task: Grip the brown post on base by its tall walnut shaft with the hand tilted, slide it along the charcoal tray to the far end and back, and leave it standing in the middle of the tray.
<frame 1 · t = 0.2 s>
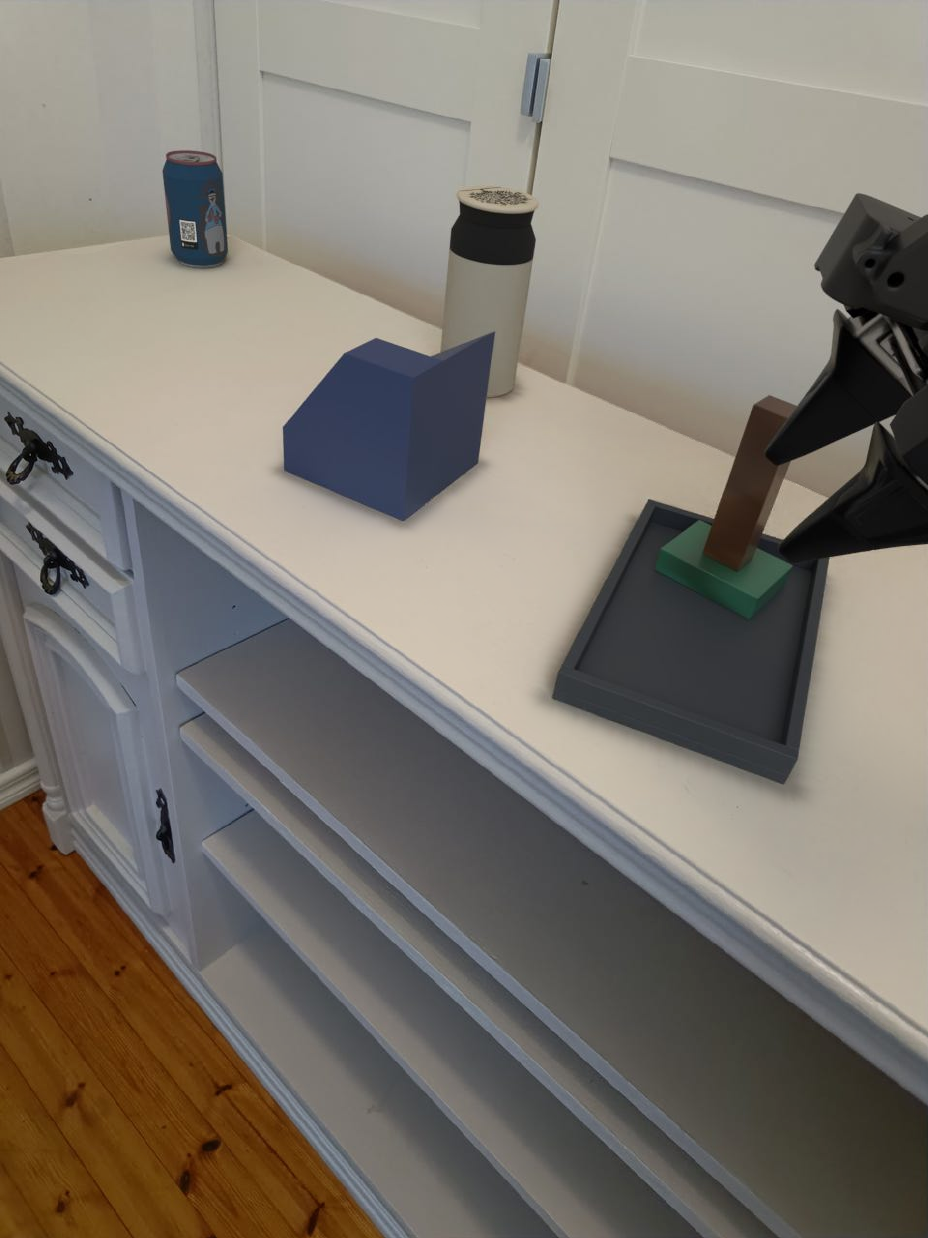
hand: (776, 503, 43), 16 cm above the sideboard, tool tilted 30°, fingers open, 9 cm apart
phone stand: (383, 468, 74), on the sideboard
tray: (700, 630, 60), on the sideboard
brown post on base: (719, 578, 64), point 1 cm above the sideboard, touching tray
travel mug: (475, 384, 89), on the sideboard
soda can: (200, 261, 108), on the sideboard
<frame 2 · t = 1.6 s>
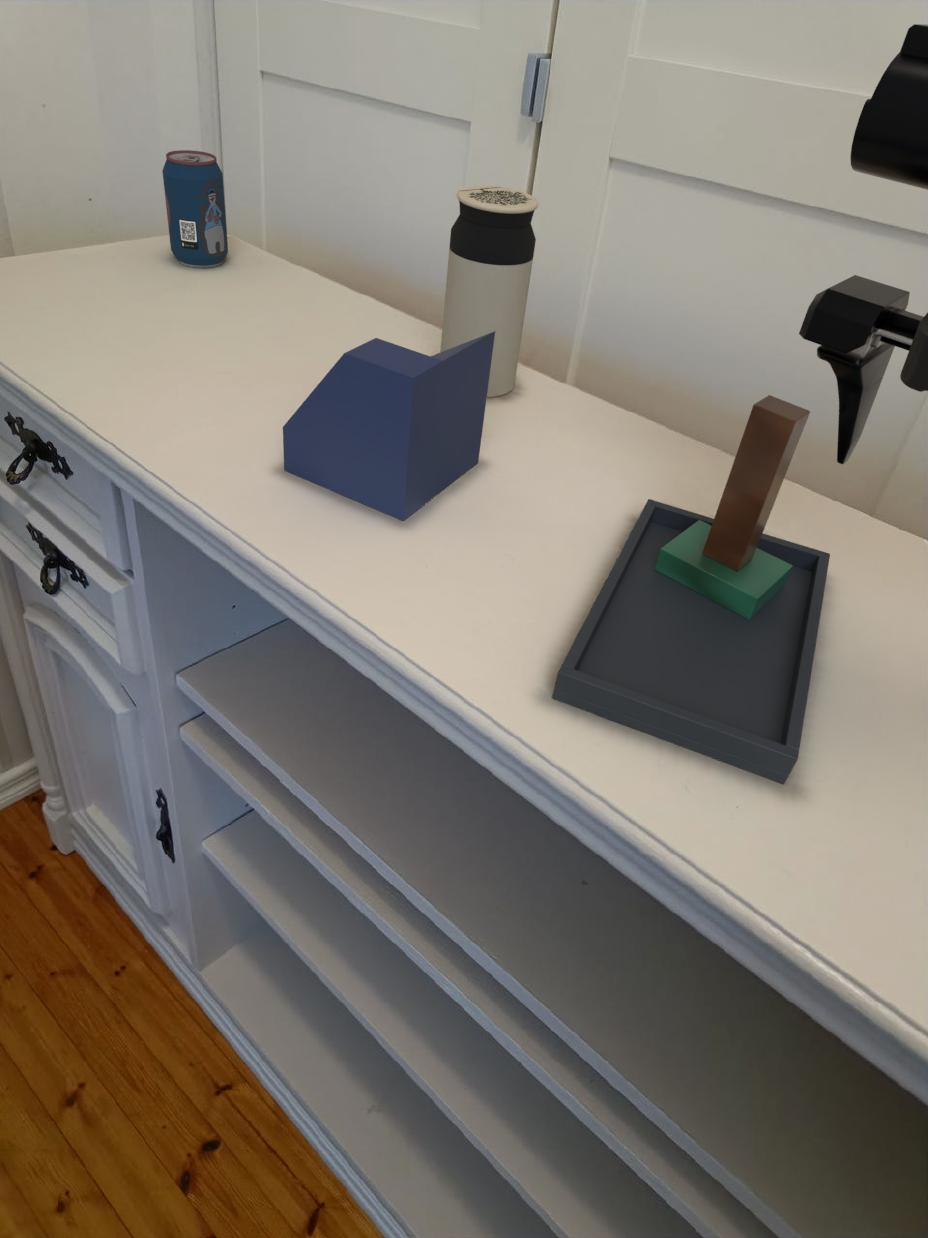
hand: (913, 491, 52), 13 cm above the sideboard, tool pointing down, fingers open, 9 cm apart
nothing on the sideboard moved.
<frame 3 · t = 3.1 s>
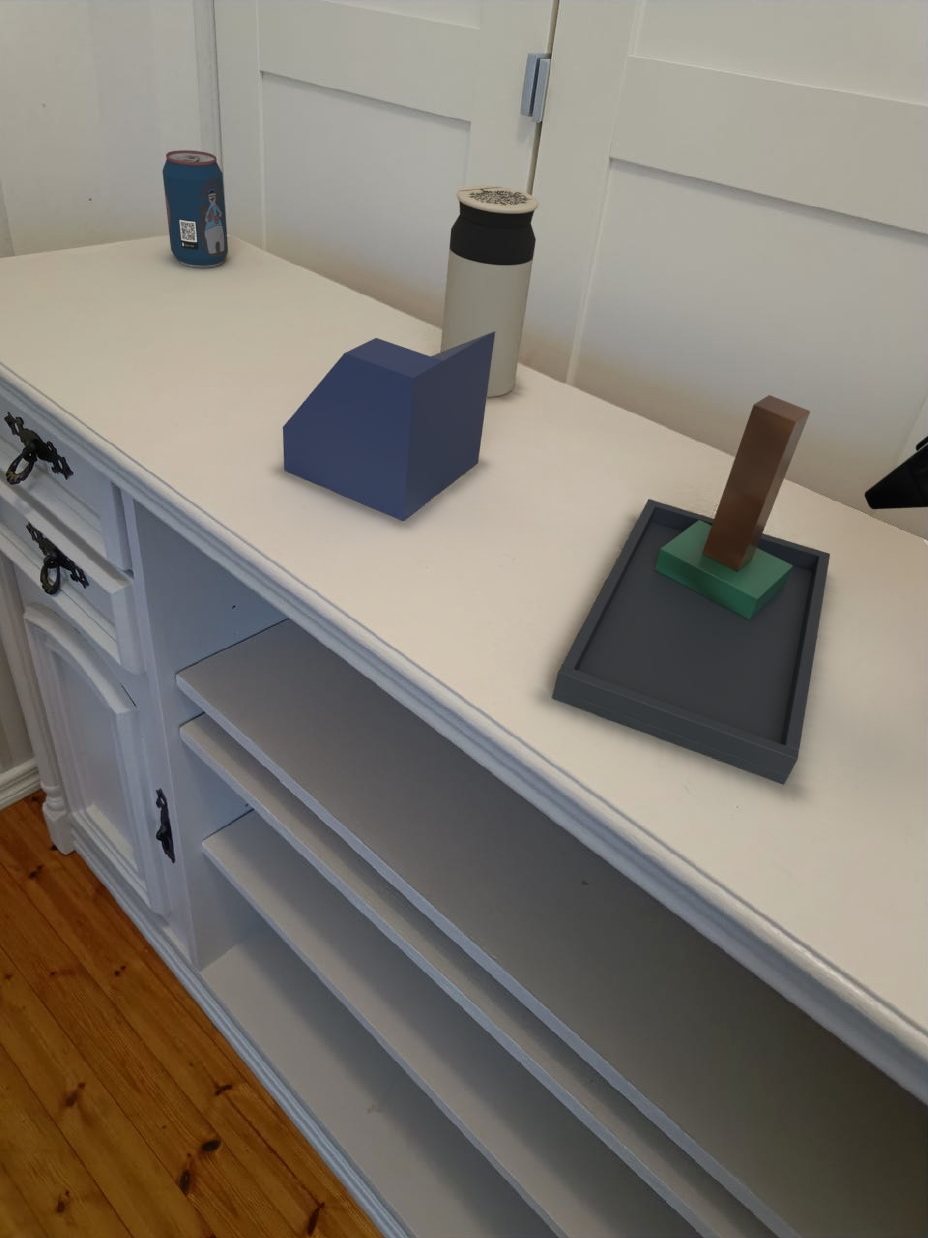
hand: (894, 475, 53), 13 cm above the sideboard, tool tilted 45°, fingers open, 9 cm apart
nothing on the sideboard moved.
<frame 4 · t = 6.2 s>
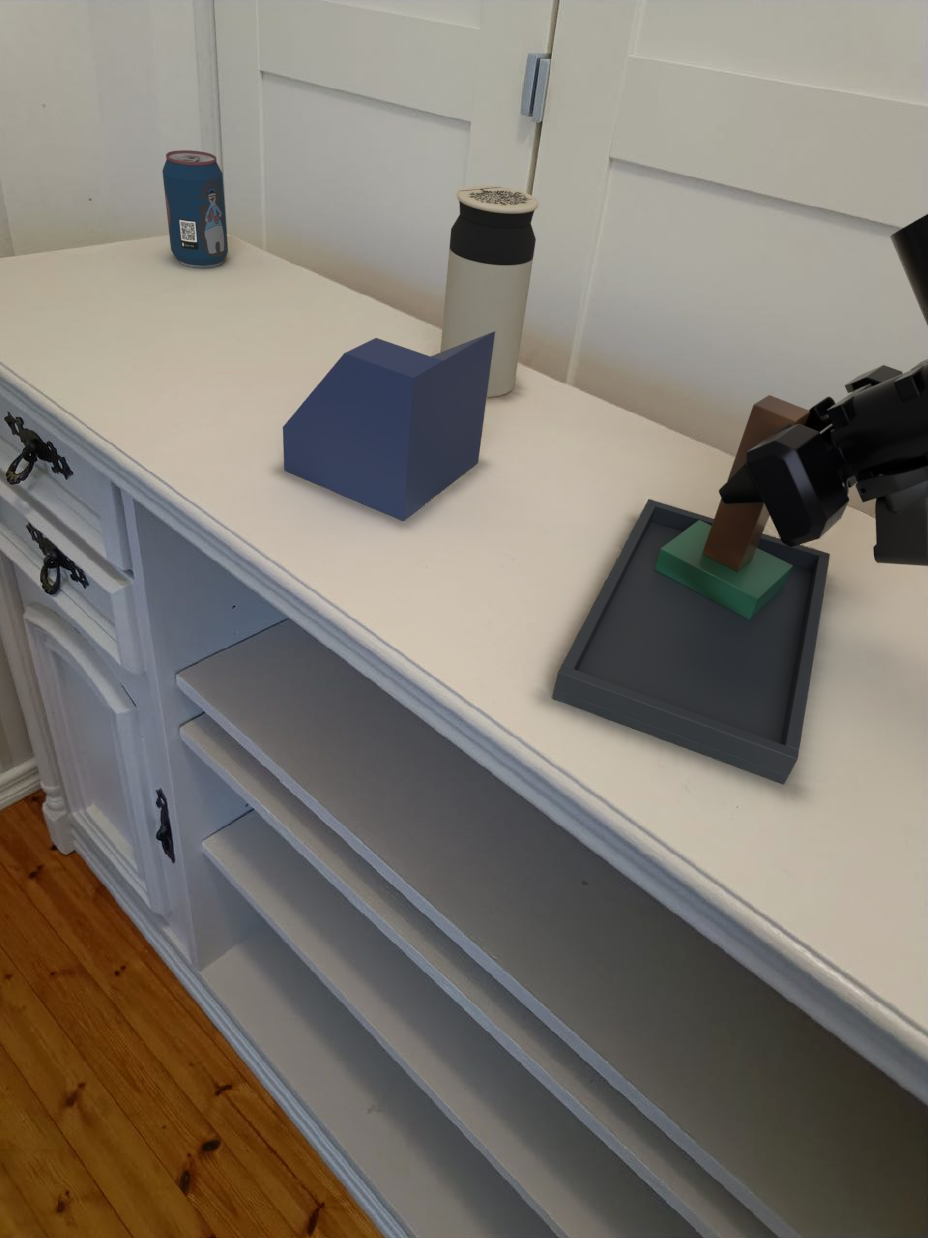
hand: (730, 490, 60), 8 cm above the sideboard, tool tilted 45°, fingers closed on brown post on base, 2 cm apart
brown post on base: (719, 578, 64), point 1 cm above the sideboard, touching gripper, tray
everything else where it was.
when the fingers open (8 cm above the sideboard, at t = 12.7 s): brown post on base stays where it is, resting on tray.
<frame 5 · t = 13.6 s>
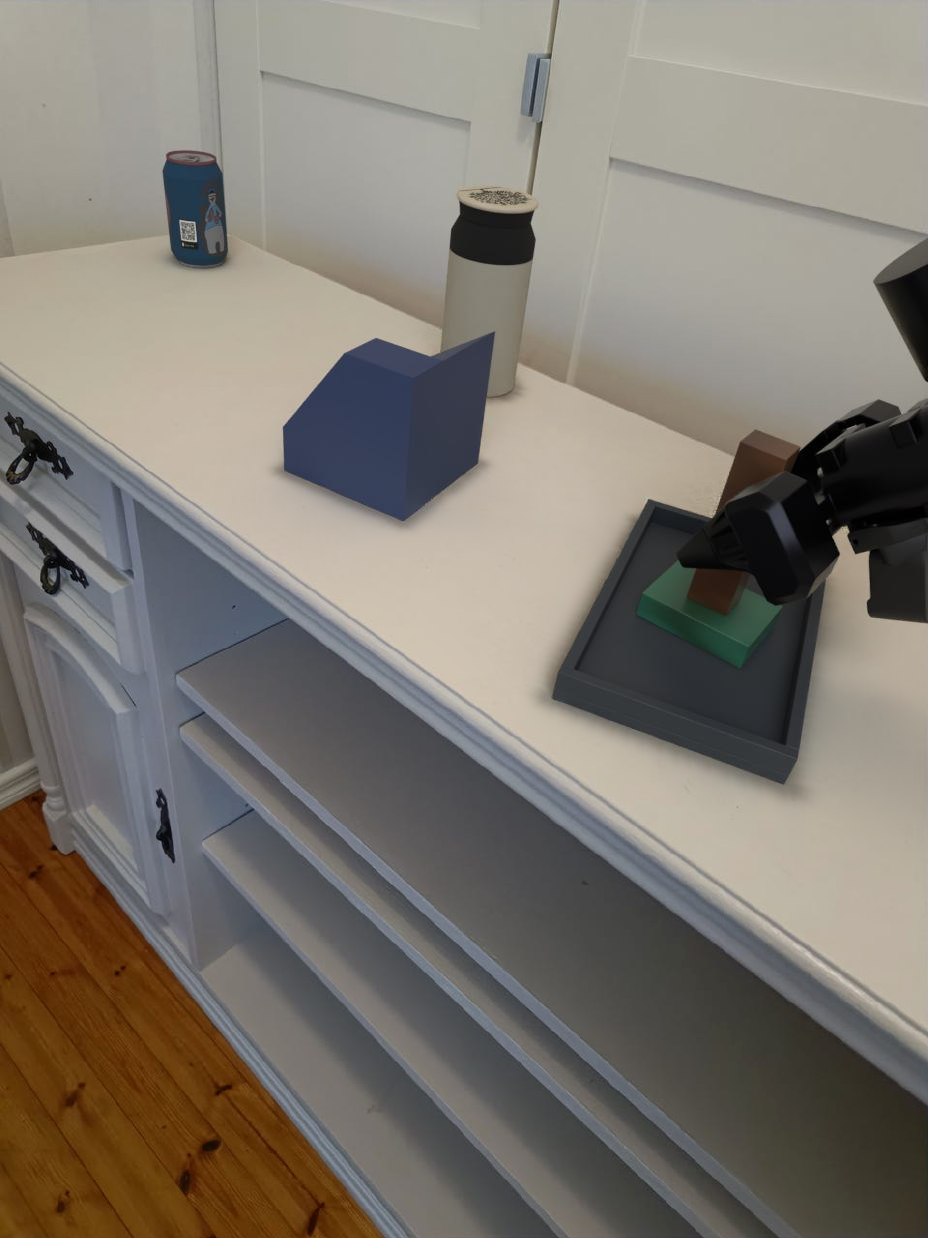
hand: (714, 532, 56), 8 cm above the sideboard, tool tilted 45°, fingers open, 9 cm apart
brown post on base: (704, 621, 60), point 1 cm above the sideboard, touching tray
everything else where it was.
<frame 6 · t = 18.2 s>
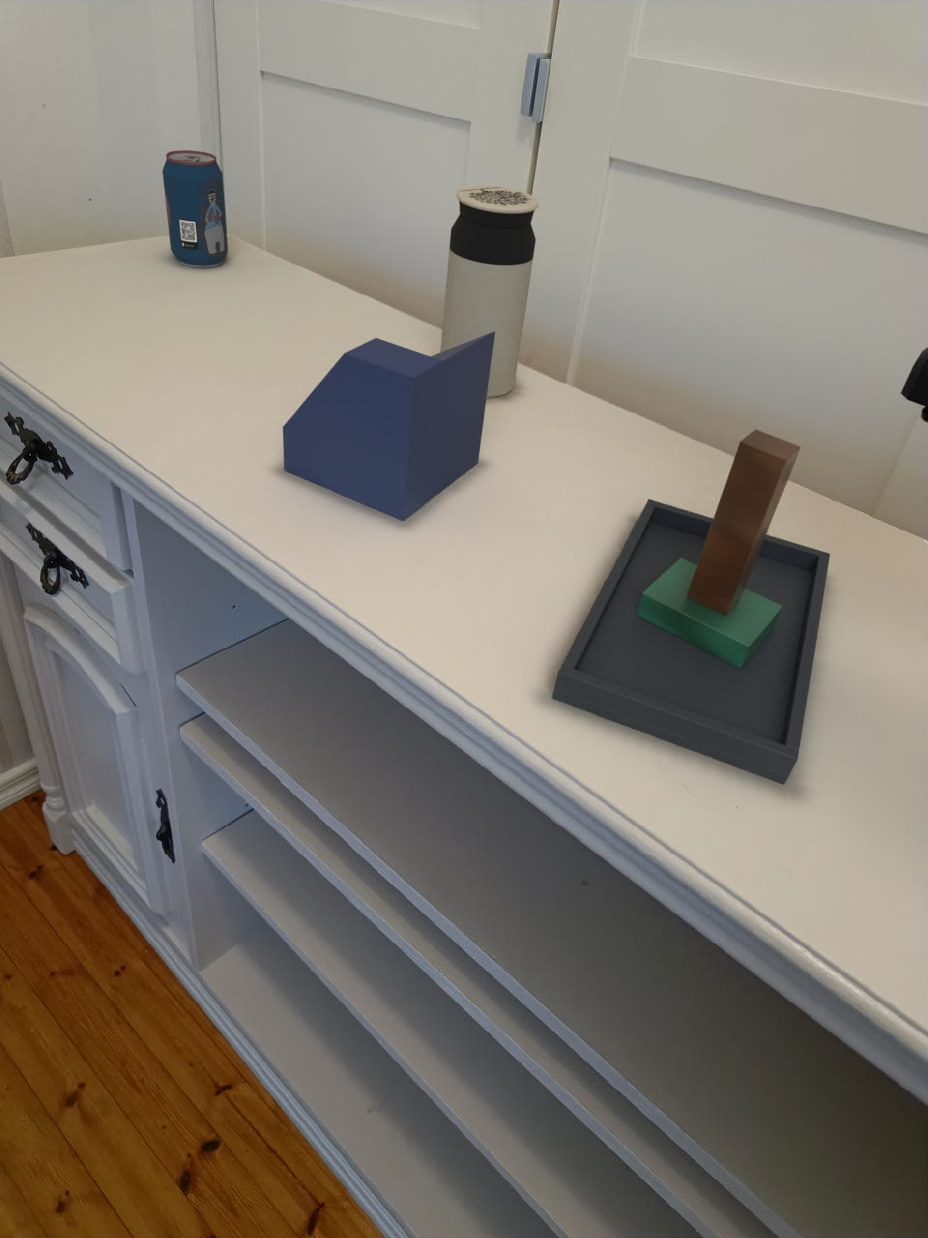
nothing on the sideboard moved.
at the end: brown post on base inside the target area in the tray (0.1 cm from its centre), point 0.8 cm above the tray's base; brown post on base tilted 0°; travel mug moved 0.2 cm from its start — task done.
